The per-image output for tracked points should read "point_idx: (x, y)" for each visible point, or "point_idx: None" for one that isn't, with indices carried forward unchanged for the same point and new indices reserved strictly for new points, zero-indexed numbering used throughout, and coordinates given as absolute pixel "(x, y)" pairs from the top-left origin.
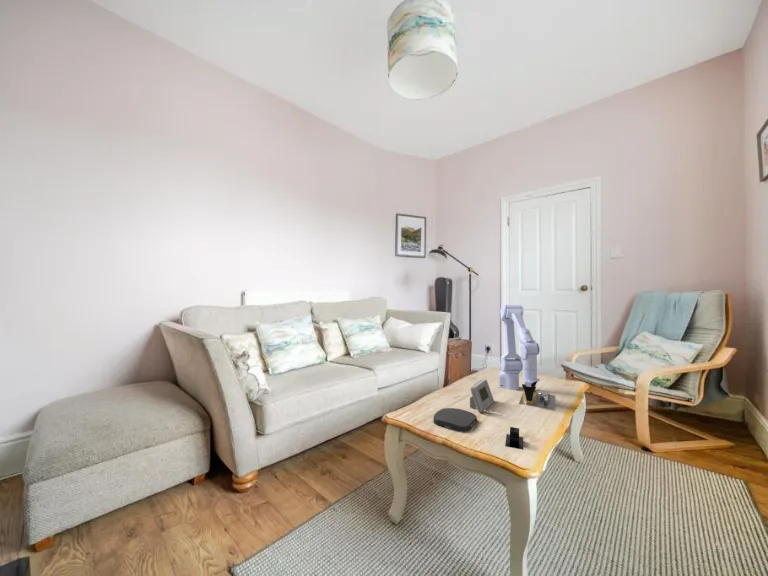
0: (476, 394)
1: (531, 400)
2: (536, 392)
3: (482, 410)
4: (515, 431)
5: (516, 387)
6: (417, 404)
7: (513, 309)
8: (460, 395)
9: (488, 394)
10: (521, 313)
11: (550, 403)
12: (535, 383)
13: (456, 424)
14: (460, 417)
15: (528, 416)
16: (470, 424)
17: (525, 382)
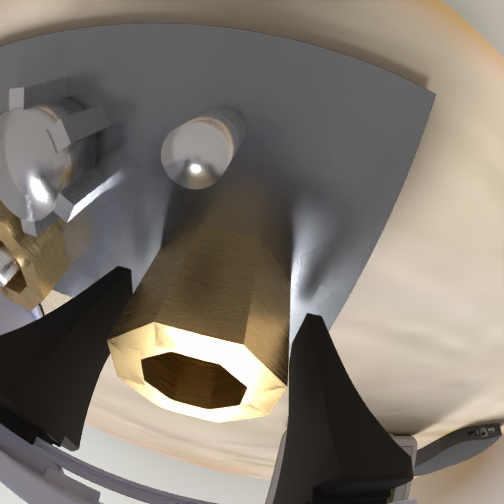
0: (407, 498)
1: (325, 325)
2: (243, 342)
3: (416, 442)
4: None
5: (13, 313)
6: None
7: None
8: (237, 459)
9: None
10: None
11: (204, 75)
12: (37, 380)
13: (490, 445)
14: (468, 454)
15: (488, 319)
16: (497, 433)
17: (81, 430)
